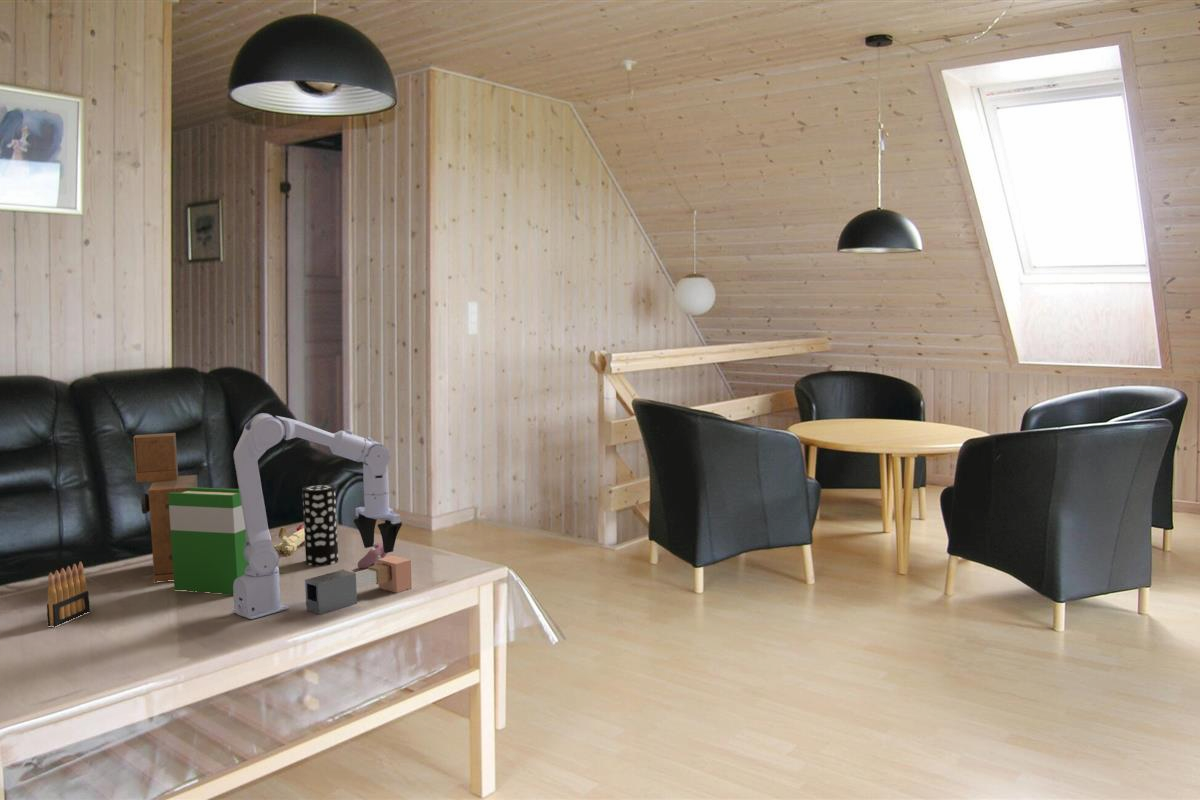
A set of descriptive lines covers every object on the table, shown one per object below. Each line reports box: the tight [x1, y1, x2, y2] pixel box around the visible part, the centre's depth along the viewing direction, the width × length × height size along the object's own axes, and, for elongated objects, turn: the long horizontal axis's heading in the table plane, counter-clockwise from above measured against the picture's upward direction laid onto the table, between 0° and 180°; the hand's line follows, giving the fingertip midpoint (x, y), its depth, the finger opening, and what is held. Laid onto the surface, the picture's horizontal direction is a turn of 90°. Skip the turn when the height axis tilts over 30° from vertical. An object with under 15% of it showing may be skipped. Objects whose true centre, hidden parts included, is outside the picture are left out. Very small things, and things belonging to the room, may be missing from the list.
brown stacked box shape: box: [132, 432, 199, 583], centre depth 252 cm, size 19×14×35 cm
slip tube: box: [353, 563, 392, 590], centre depth 229 cm, size 17×4×4 cm, turn 140°
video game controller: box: [357, 541, 388, 570], centre depth 257 cm, size 10×5×7 cm, turn 169°
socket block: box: [377, 555, 412, 594], centre depth 235 cm, size 4×7×7 cm, turn 50°
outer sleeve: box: [304, 569, 358, 615], centre depth 221 cm, size 10×5×7 cm, turn 140°
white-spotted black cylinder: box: [301, 484, 339, 567], centre depth 259 cm, size 8×8×20 cm
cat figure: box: [273, 522, 305, 556], centre depth 279 cm, size 10×9×25 cm
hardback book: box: [168, 486, 249, 595], centre depth 236 cm, size 18×7×24 cm, turn 75°
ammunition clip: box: [46, 561, 91, 627], centre depth 215 cm, size 11×2×12 cm, turn 168°
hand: (378, 549), depth 231 cm, fingers open, 7 cm apart
